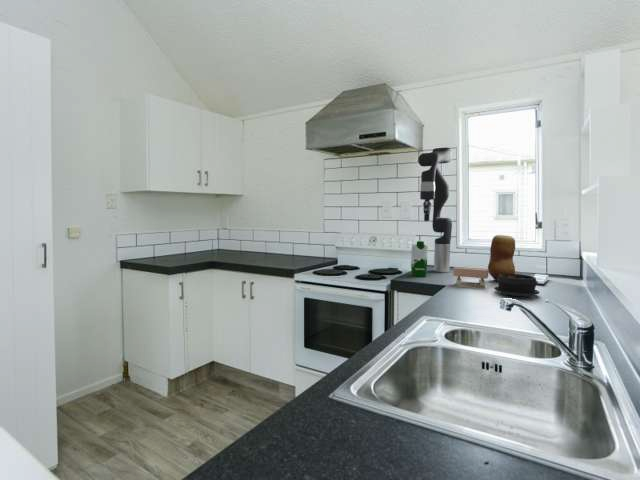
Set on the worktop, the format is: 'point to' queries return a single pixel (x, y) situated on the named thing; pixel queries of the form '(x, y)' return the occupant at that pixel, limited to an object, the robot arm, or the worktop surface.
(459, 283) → the rack
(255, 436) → the worktop surface
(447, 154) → the robot arm
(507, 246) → the butternut squash
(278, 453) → the worktop surface
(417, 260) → the milk carton
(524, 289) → the casserole
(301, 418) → the worktop surface
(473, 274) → the brown wooden block
